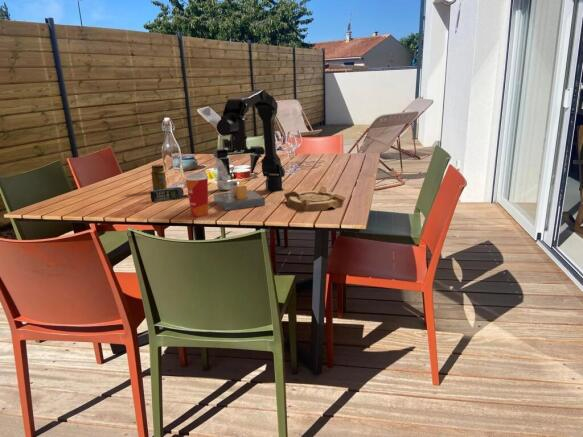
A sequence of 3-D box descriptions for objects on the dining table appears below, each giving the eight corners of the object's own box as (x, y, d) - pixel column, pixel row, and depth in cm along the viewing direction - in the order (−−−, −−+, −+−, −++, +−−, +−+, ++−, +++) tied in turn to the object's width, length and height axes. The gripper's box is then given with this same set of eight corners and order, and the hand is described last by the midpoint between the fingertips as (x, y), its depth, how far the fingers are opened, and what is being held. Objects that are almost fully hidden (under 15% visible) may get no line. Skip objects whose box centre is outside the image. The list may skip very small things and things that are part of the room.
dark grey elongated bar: (150, 191, 178) (186, 186, 185) (148, 190, 180) (184, 185, 187) (152, 203, 179) (187, 197, 186) (150, 202, 182) (185, 196, 189)
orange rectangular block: (247, 205, 170) (246, 185, 168) (239, 206, 169) (238, 186, 167) (244, 204, 173) (243, 184, 171) (237, 205, 172) (235, 185, 170)
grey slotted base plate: (251, 196, 185) (250, 178, 183) (265, 205, 171) (264, 185, 169) (214, 201, 178) (212, 182, 176) (225, 210, 164) (224, 189, 162)
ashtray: (285, 197, 184) (284, 186, 182) (341, 196, 183) (341, 185, 181) (282, 212, 161) (282, 199, 160) (347, 211, 160) (347, 198, 159)
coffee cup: (190, 212, 163) (186, 172, 159) (212, 211, 164) (209, 171, 160) (186, 218, 155) (182, 176, 151) (210, 217, 156) (206, 175, 152)
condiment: (167, 189, 204) (164, 163, 201) (169, 192, 196) (166, 166, 193) (151, 190, 202) (148, 164, 198) (152, 194, 194) (149, 167, 191)
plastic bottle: (229, 191, 195) (226, 146, 190) (215, 191, 197) (211, 146, 191) (234, 188, 201) (231, 145, 196) (220, 188, 203) (217, 145, 197)
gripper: (254, 130, 174) (256, 169, 178) (208, 133, 167) (211, 173, 171) (264, 132, 164) (266, 173, 169) (216, 135, 157) (219, 178, 161)
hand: (240, 174), depth 168 cm, fingers open, 9 cm apart
